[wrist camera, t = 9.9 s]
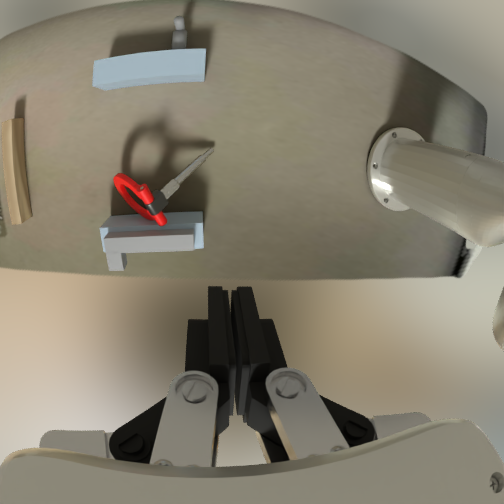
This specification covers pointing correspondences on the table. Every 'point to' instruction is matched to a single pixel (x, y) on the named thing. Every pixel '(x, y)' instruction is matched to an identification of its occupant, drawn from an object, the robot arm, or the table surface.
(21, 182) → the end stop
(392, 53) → the table surface
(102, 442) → the robot arm
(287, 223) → the table surface
